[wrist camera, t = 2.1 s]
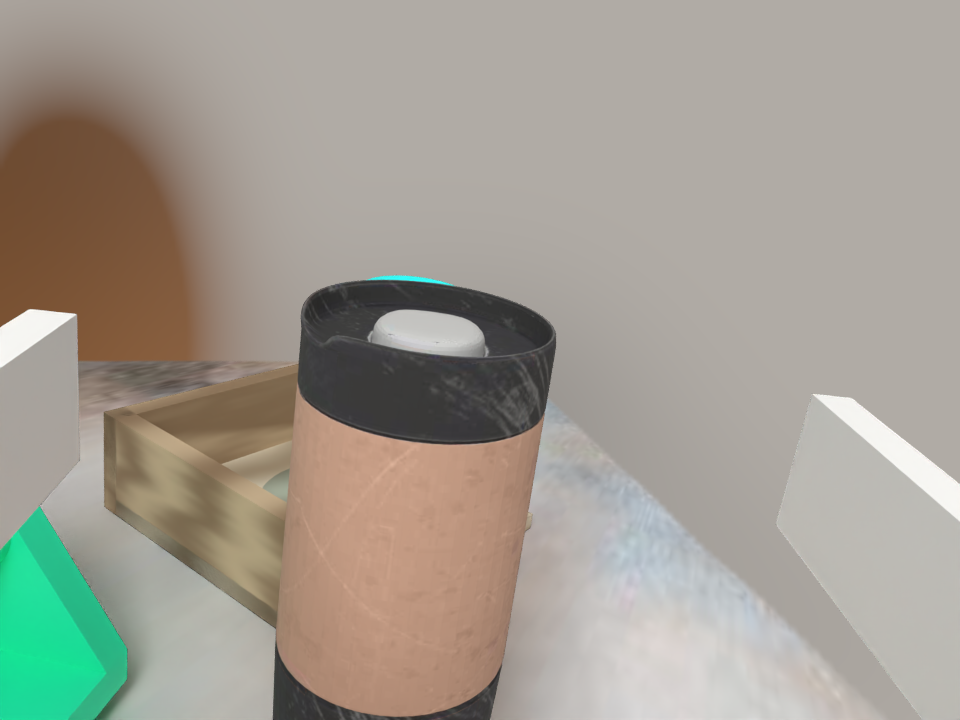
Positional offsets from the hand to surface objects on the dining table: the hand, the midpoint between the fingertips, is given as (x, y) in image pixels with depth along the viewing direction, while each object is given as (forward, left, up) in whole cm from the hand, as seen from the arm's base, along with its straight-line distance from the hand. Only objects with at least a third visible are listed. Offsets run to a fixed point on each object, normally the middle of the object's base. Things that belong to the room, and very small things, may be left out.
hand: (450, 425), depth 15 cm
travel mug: (-7, +7, -21) cm, 23 cm away
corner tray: (-24, +21, -21) cm, 38 cm away
